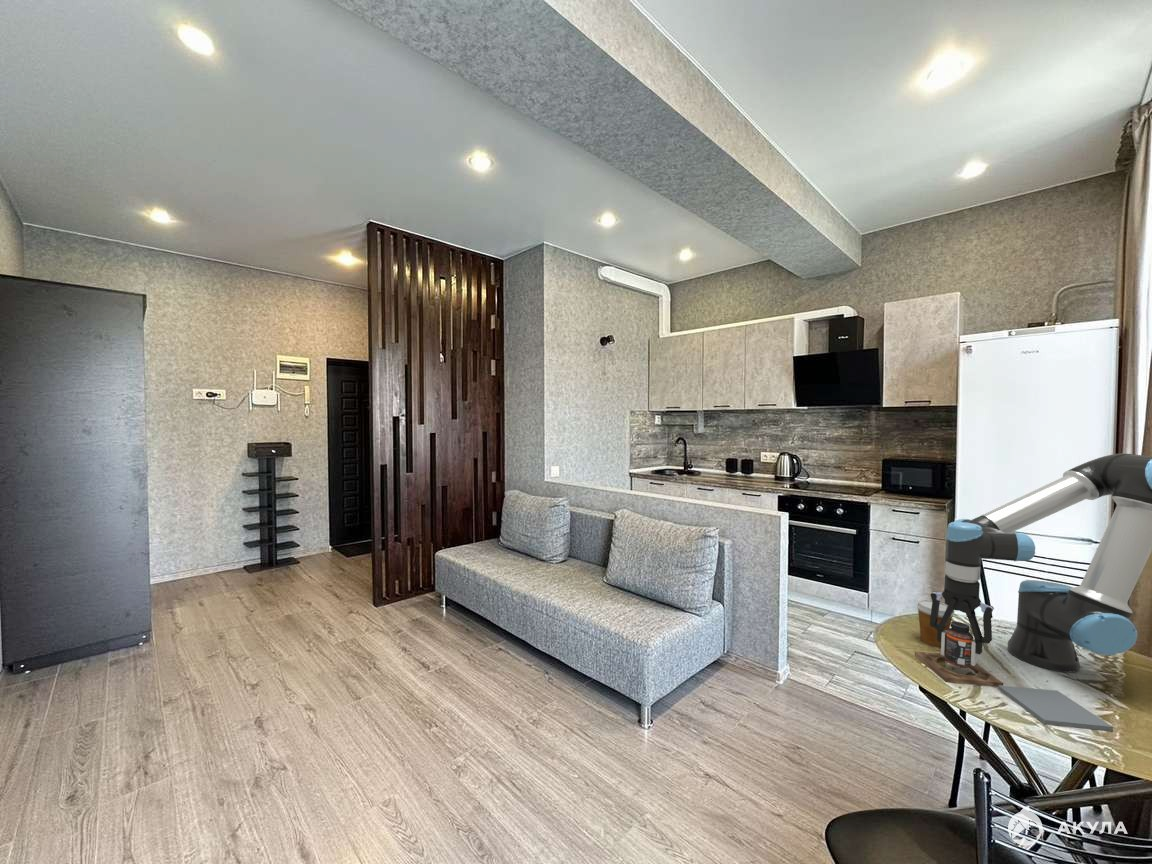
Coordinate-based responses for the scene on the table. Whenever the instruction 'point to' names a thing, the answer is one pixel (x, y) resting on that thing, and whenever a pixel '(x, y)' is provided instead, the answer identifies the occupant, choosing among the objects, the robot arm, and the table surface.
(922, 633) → the disposable coffee cup
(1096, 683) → the table surface
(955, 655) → the supplement bottle
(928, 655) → the socket board
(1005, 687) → the slate pad
